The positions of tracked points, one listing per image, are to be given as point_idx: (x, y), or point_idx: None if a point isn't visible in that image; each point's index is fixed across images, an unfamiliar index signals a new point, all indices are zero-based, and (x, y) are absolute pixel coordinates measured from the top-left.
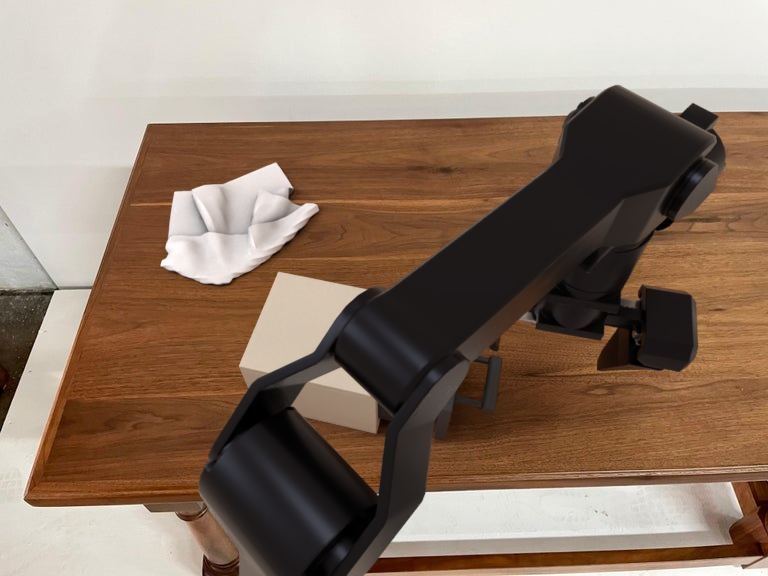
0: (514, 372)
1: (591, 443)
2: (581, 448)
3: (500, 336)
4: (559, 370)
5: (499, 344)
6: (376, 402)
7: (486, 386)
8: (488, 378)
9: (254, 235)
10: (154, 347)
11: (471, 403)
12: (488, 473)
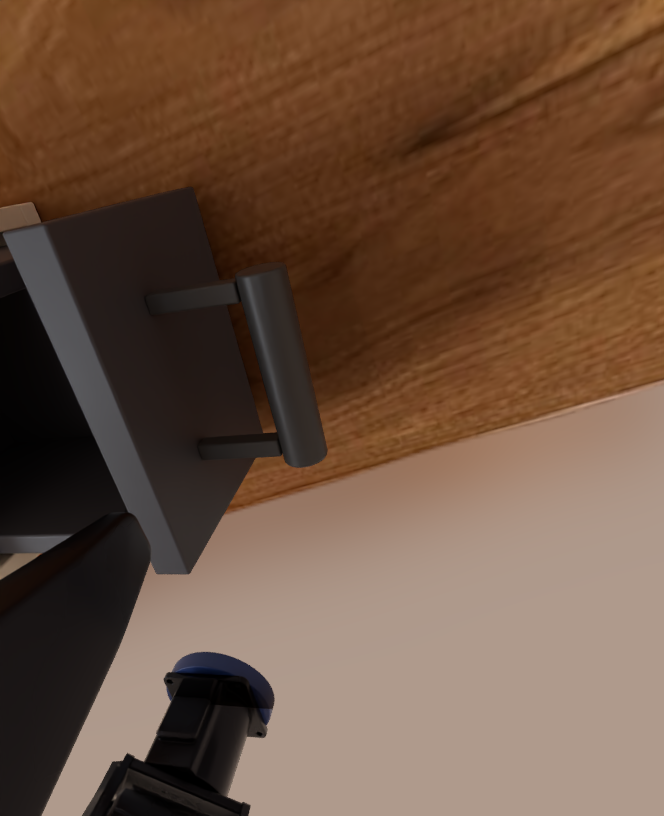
0: (375, 156)
1: (656, 306)
2: (623, 332)
3: (77, 605)
4: (532, 69)
5: (106, 625)
6: (25, 560)
7: (268, 397)
8: (262, 370)
9: None
10: None
11: (251, 456)
12: (388, 460)
